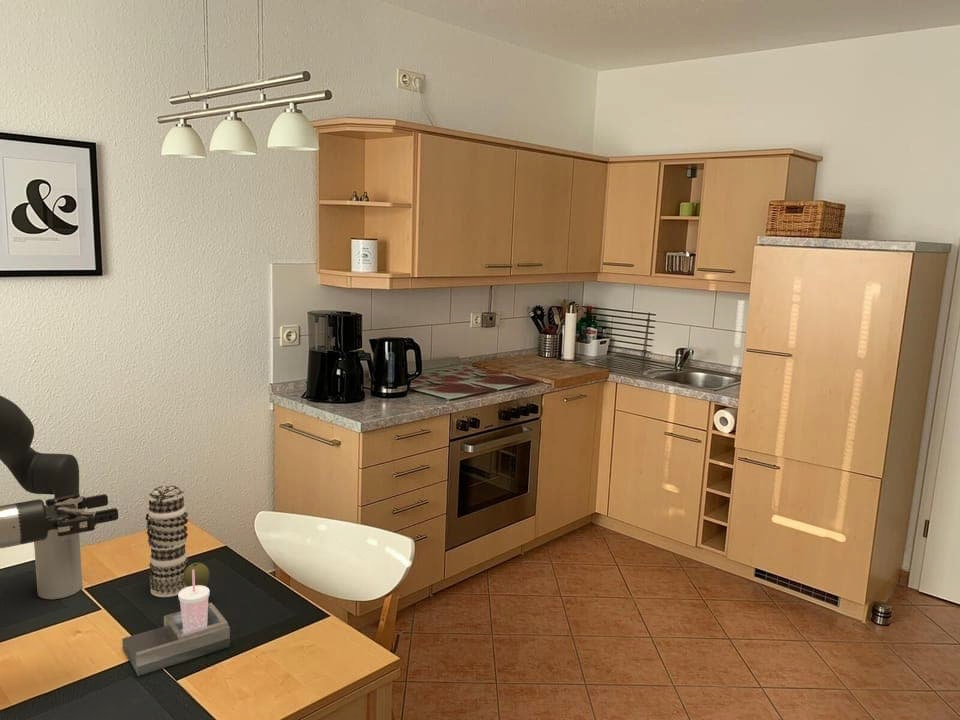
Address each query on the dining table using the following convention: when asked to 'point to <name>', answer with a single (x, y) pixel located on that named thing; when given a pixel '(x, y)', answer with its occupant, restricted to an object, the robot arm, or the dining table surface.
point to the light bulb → (196, 574)
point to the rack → (176, 642)
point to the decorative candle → (167, 540)
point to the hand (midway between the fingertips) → (112, 506)
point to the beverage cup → (194, 606)
